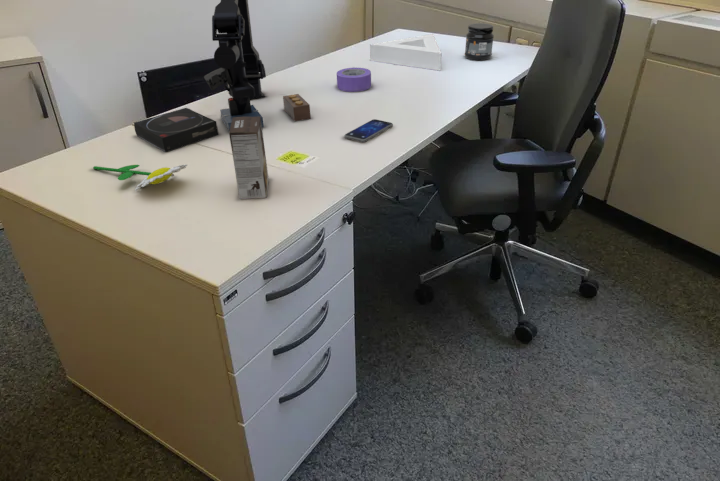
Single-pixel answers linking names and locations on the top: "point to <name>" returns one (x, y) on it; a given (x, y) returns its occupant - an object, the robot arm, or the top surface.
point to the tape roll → (353, 79)
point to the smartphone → (368, 130)
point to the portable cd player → (176, 129)
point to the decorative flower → (152, 178)
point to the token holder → (296, 107)
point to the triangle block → (408, 52)
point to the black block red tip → (234, 108)
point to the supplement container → (479, 41)
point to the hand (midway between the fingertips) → (240, 112)
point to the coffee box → (249, 157)
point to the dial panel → (227, 116)
